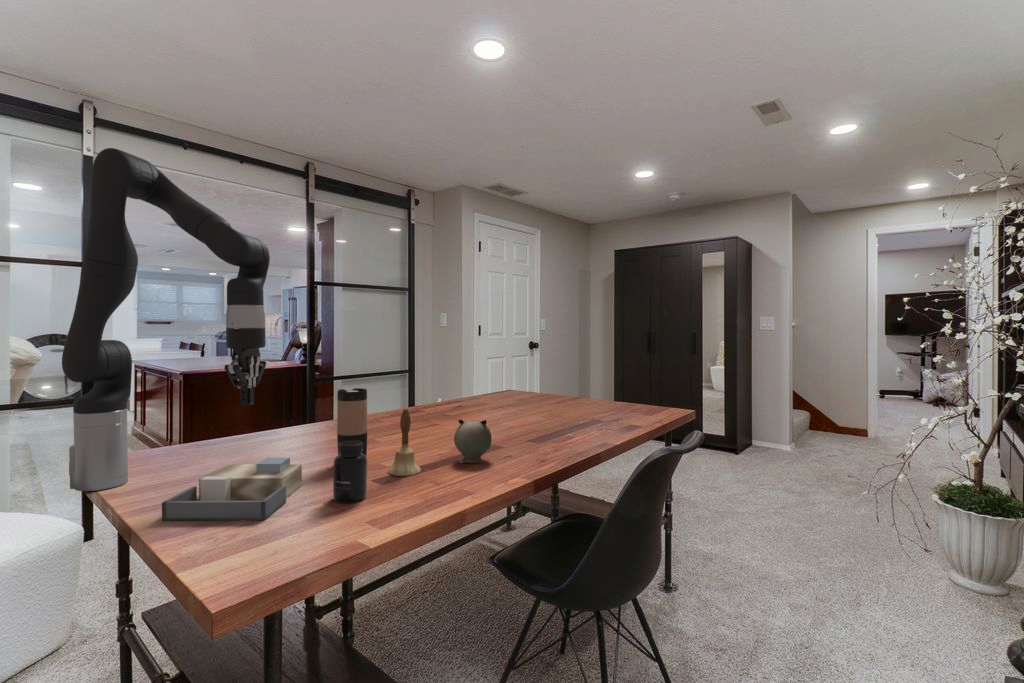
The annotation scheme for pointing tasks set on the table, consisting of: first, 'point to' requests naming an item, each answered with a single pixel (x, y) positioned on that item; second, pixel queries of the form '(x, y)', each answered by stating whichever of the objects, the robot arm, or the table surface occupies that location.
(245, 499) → the bench
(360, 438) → the travel mug
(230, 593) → the table surface
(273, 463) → the slate tile
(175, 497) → the tray
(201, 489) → the beige block
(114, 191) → the robot arm
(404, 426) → the hand bell
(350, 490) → the supplement bottle
